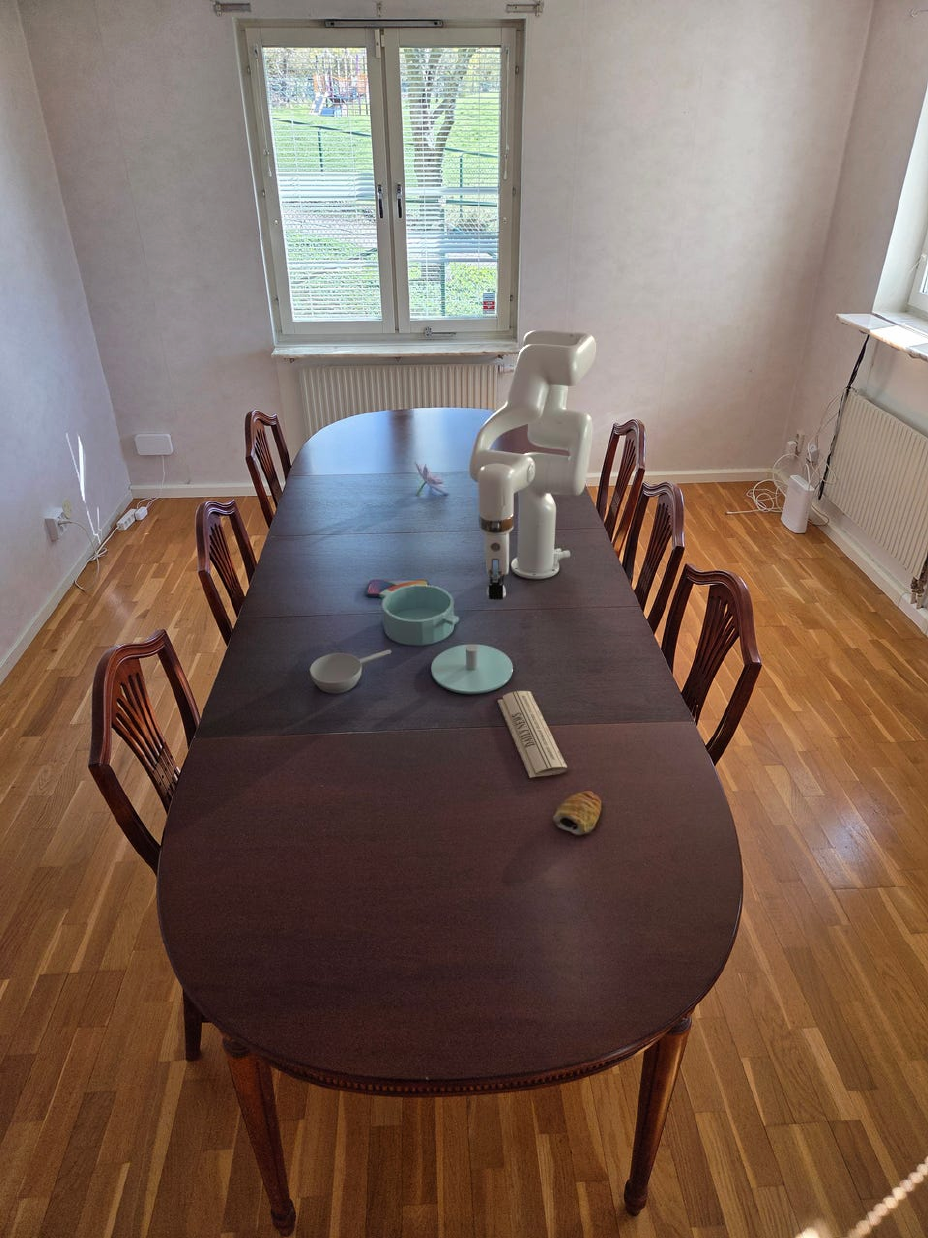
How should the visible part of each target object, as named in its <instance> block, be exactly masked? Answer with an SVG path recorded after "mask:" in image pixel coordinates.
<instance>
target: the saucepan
mask: <svg viewBox="0 0 928 1238" xmlns="http://www.w3.org/2000/svg"><path fill="white" fill-rule="evenodd" d="M391 653H392V650H391V649H389V648H388V649H386V650H382V651H380V652H377V653H374V654H370V655H368V656H365V657H363V658H360V659H359V658H358V657H357V656H355V655H353V654H349V653H346V652H345V653H344V652H335V653H329V654H325V655H323V656H321V657H319V658H317V659H315V661H313V663H312V664H311V666H310V668H309V671H310V676H311V679H312V682H313V683H314V684H315V685H316V686H317V687H318V688H319V689H320V691H323V692H325V693H330V694H331V693H332V694H338V693H339V694H340V693H344V692H347V691H349V690H351V689H352V688H354V687H355V686H356V685H357V683H358V681H359V680H360V677H361V675H362V664H365V663H368V662H370V661H373V660H375V659H379V658H381V657H385V656H387V655H390V654H391Z"/></svg>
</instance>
